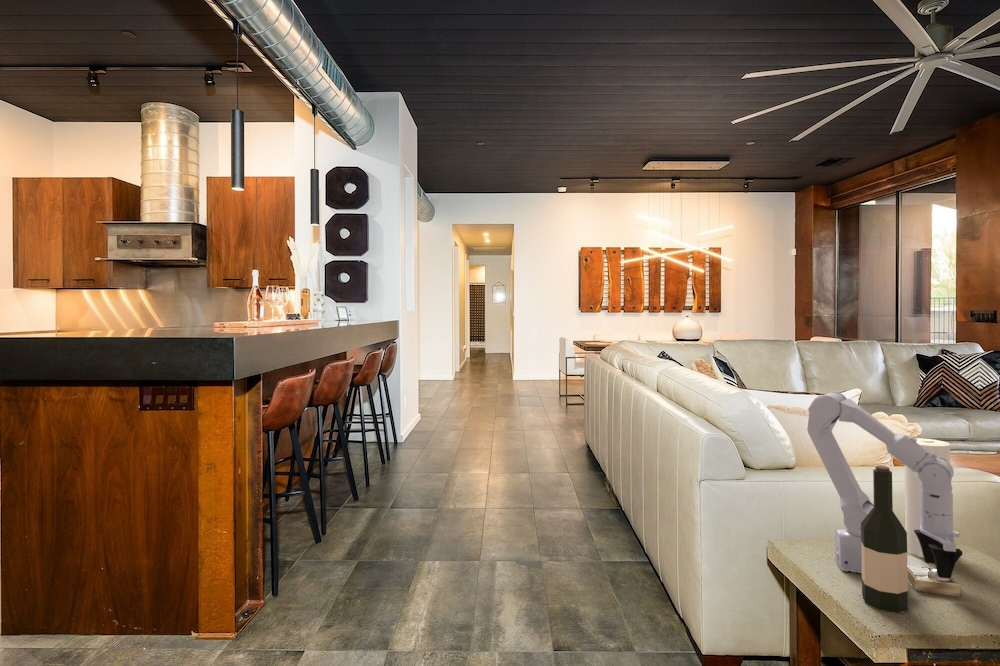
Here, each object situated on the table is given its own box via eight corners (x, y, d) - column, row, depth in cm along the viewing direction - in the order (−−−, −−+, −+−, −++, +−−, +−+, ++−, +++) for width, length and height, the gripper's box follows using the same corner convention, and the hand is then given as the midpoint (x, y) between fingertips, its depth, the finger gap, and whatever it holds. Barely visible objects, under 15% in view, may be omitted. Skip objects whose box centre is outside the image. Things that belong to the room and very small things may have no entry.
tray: (915, 590, 122) (915, 579, 121) (903, 574, 129) (903, 564, 129) (960, 596, 119) (960, 585, 118) (944, 579, 126) (944, 569, 126)
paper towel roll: (959, 562, 135) (957, 444, 134) (915, 558, 138) (913, 443, 137) (939, 547, 144) (938, 436, 143) (899, 544, 147) (897, 435, 146)
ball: (931, 589, 121) (932, 573, 121) (924, 578, 125) (925, 563, 124) (953, 591, 120) (954, 575, 119) (944, 580, 124) (945, 565, 123)
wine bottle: (853, 593, 121) (851, 462, 121) (890, 593, 121) (888, 462, 120) (878, 613, 113) (875, 472, 112) (918, 613, 112) (916, 472, 112)
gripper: (973, 524, 114) (973, 587, 115) (945, 503, 128) (945, 559, 128) (932, 521, 117) (933, 582, 117) (909, 500, 131) (910, 555, 131)
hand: (937, 569), depth 123 cm, fingers open, 7 cm apart
